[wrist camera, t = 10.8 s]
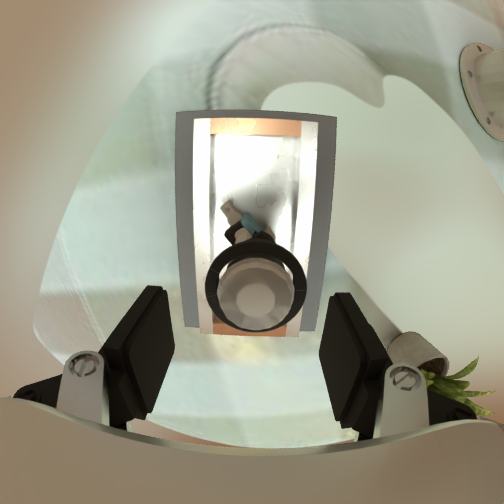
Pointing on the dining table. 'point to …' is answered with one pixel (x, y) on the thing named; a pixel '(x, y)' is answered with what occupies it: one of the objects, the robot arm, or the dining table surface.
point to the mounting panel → (320, 209)
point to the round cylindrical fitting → (254, 278)
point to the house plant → (435, 369)
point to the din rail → (252, 195)
